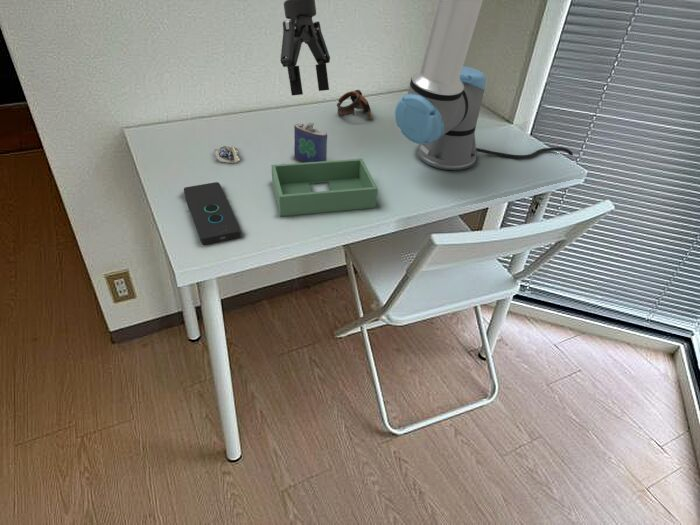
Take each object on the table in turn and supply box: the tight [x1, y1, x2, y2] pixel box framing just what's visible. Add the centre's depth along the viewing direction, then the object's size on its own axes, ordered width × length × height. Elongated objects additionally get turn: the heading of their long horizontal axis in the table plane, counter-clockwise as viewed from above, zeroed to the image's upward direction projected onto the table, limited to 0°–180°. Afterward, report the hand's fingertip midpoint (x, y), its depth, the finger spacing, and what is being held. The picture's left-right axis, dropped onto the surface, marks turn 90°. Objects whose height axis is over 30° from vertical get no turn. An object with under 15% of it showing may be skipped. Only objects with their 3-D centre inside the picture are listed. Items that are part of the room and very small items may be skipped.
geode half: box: [213, 145, 241, 164], centre depth 129 cm, size 7×8×2 cm
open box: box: [271, 158, 379, 217], centre depth 116 cm, size 22×14×5 cm, turn 104°
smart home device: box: [183, 181, 242, 246], centre depth 109 cm, size 8×2×20 cm
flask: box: [293, 121, 328, 163], centre depth 126 cm, size 9×3×11 cm, turn 60°
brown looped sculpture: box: [336, 89, 372, 121], centre depth 151 cm, size 12×10×8 cm
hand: (311, 92), depth 129 cm, fingers open, 13 cm apart
